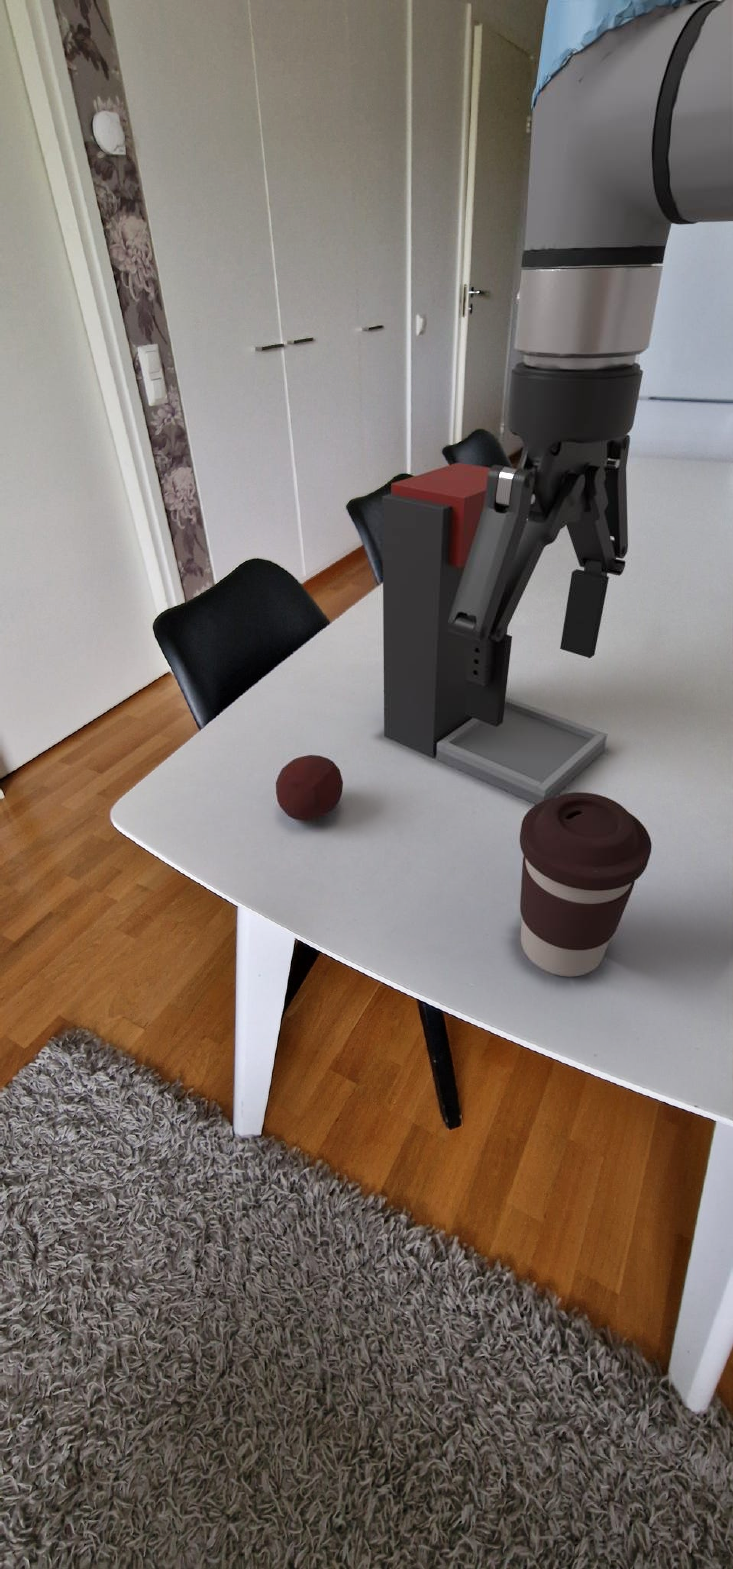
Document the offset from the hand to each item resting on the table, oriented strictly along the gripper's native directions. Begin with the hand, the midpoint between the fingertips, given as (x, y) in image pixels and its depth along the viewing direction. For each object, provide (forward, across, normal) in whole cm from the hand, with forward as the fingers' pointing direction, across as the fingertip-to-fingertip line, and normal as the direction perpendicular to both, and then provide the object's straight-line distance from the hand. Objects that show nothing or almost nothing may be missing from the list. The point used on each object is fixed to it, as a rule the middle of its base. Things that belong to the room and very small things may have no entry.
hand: (533, 683), depth 54 cm
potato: (+24, +2, -24) cm, 34 cm away
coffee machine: (+24, -23, -16) cm, 37 cm away
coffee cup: (+24, +1, +7) cm, 25 cm away
